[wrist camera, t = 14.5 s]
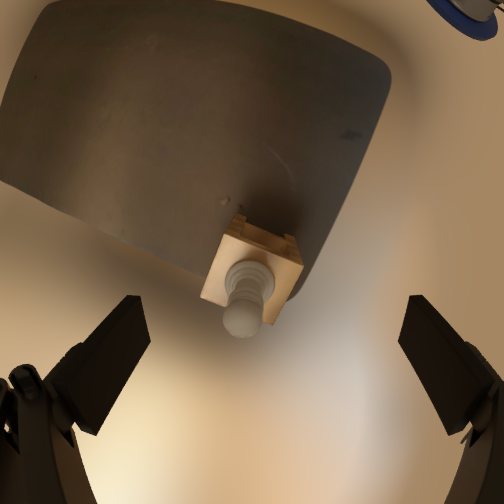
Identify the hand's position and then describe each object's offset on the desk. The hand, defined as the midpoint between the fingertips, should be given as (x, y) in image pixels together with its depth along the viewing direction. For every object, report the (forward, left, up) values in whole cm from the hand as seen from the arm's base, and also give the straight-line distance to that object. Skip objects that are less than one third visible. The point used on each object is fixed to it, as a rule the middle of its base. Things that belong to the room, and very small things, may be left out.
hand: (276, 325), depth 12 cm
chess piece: (+2, +5, -17) cm, 18 cm away
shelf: (+2, +5, -28) cm, 29 cm away
